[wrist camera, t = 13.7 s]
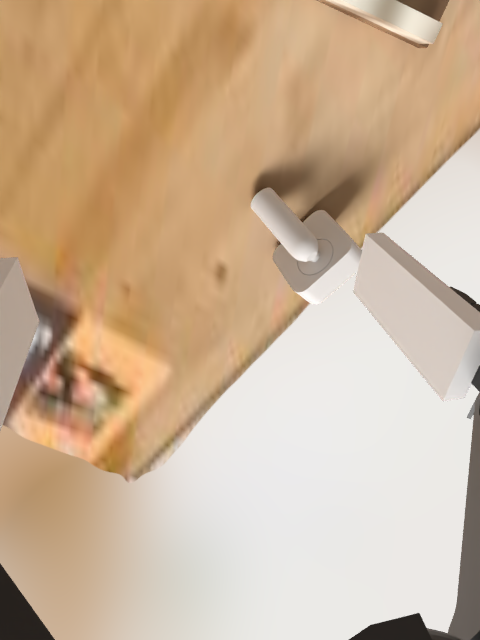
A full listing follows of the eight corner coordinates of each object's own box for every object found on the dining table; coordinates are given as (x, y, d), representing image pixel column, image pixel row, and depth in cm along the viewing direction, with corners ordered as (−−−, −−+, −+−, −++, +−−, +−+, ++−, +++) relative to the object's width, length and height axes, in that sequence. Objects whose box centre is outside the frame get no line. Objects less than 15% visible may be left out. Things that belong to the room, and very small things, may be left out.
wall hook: (279, 160, 42) (323, 205, 35) (327, 213, 49) (371, 260, 42) (226, 215, 45) (258, 268, 38) (279, 259, 52) (314, 309, 45)
